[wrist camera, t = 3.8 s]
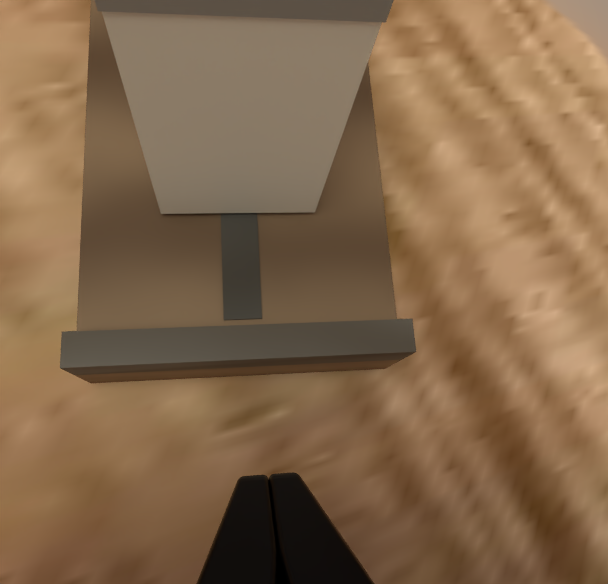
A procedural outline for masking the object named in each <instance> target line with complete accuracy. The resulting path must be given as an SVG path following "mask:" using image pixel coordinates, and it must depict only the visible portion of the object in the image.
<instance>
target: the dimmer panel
mask: <svg viewBox="0 0 608 584" xmlns="http://www.w3.org/2000/svg"><path fill="white" fill-rule="evenodd" d="M415 352H416V346H415V338H414V329H413V321H412V319H397V316H396V307H395V299H394V290H393V281H392V272H391V263H390V254H389V245H388V236H387V227H386V219H385V210H384V201H383V192H382V183H381V174H380V165H379V156H378V147H377V138H376V130H375V121H374V112H373V103H372V94H371V85H370V76H369V67H368V63H367V66H366V69H365V72H364V74H363V77H362V80H361V83H360V86H359V89H358V91H357V94H356V97H355V100H354V103H353V106H352V108H351V111H350V114H349V117H348V120H347V123H346V125H345V128H344V131H343V134H342V137H341V140H340V142H339V145H338V148H337V151H336V154H335V157H334V159H333V162H332V165H331V168H330V171H329V174H328V176H327V179H326V182H325V185H324V188H323V191H322V194H321V196H320V199H319V202H318V205H317V208H316V211H315V212H297V213H193V214H161V212H160V209H159V206H158V202H157V199H156V195H155V192H154V189H153V185H152V182H151V178H150V175H149V171H148V168H147V165H146V161H145V158H144V154H143V151H142V148H141V144H140V141H139V137H138V134H137V130H136V127H135V124H134V120H133V117H132V113H131V110H130V107H129V103H128V100H127V96H126V93H125V89H124V86H123V83H122V79H121V76H120V72H119V69H118V66H117V62H116V59H115V55H114V52H113V48H112V45H111V42H110V38H109V35H108V31H107V28H106V25H105V21H104V18H103V14H102V11H98V10H97V7H96V4H95V0H91V12H90V35H89V59H88V82H87V105H86V128H85V151H84V174H83V197H82V220H81V243H80V266H79V290H78V313H77V331H68V332H62V339H61V359H60V368H61V369H63V370H65V371H67V372H69V373H71V374H73V375H75V376H77V377H79V378H81V379H83V380H85V381H88V382H90V383H104V382H124V381H144V380H164V379H185V378H205V377H225V376H245V375H265V374H285V373H305V372H326V371H346V370H366V369H385V368H387V367H389V366H391V365H392V364H394V363H396V362H398V361H400V360H402V359H404V358H405V357H407V356H409V355H411V354H413V353H415Z"/></svg>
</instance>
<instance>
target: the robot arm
mask: <svg viewBox="0 0 608 584" xmlns="http://www.w3.org/2000/svg"><path fill="white" fill-rule="evenodd" d="M197 584H374V582H373V581H372V579H371V578H370V577H369V575H368V574H367V572H366V571H365V569H364V568H363V566H362V565H361V564H360V562H359V561H358V559H357V558H356V556H355V555H354V553H353V552H352V551H351V549H350V548H349V546H348V545H347V543H346V542H345V540H344V539H343V538H342V536H341V535H340V533H339V532H338V530H337V529H336V527H335V526H334V524H333V523H332V522H331V520H330V519H329V517H328V516H327V514H326V513H325V511H324V510H323V509H322V507H321V506H320V504H319V503H318V501H317V500H316V498H315V497H314V496H313V494H312V493H311V491H310V490H309V488H308V487H307V485H306V484H305V483H304V481H303V480H302V478H301V477H300V476H299V475H298V474H297V473H280V474H272V475H271V476H270V477H269V480H268V477H267V476H265V475H253V476H243V477H240V478H239V480H238V481H237V483H236V486H235V488H234V491H233V493H232V496H231V498H230V501H229V503H228V506H227V508H226V511H225V513H224V516H223V518H222V521H221V523H220V526H219V528H218V531H217V533H216V536H215V538H214V541H213V543H212V546H211V549H210V551H209V554H208V556H207V559H206V561H205V564H204V566H203V569H202V571H201V574H200V576H199V579H198V581H197Z"/></svg>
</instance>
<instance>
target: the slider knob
mask: <svg viewBox="0 0 608 584" xmlns="http://www.w3.org/2000/svg"><path fill="white" fill-rule="evenodd" d="M392 3H393V0H95V4H96V7H97V10H98V11H102V14H103V18H104V21H105V25H106V28H107V31H108V35H109V38H110V42H111V45H112V48H113V52H114V55H115V59H116V62H117V66H118V69H119V72H120V76H121V79H122V83H123V86H124V89H125V93H126V96H127V100H128V103H129V107H130V110H131V113H132V117H133V120H134V124H135V127H136V130H137V134H138V137H139V141H140V144H141V148H142V151H143V154H144V158H145V161H146V165H147V168H148V171H149V175H150V178H151V182H152V185H153V189H154V192H155V195H156V199H157V202H158V206H159V209H160V212H161V214H193V213H297V212H315V211H316V208H317V205H318V202H319V199H320V196H321V194H322V191H323V188H324V185H325V182H326V179H327V176H328V174H329V171H330V168H331V165H332V162H333V159H334V157H335V154H336V151H337V148H338V145H339V142H340V140H341V137H342V134H343V131H344V128H345V125H346V123H347V120H348V117H349V114H350V111H351V108H352V106H353V103H354V100H355V97H356V94H357V91H358V89H359V86H360V83H361V80H362V77H363V74H364V72H365V69H366V66H367V63H368V60H369V57H370V55H371V52H372V49H373V46H374V43H375V40H376V37H377V35H378V32H379V29H380V26H381V23H382V22H386V20H387V17H388V14H389V11H390V9H391V6H392Z"/></svg>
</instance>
